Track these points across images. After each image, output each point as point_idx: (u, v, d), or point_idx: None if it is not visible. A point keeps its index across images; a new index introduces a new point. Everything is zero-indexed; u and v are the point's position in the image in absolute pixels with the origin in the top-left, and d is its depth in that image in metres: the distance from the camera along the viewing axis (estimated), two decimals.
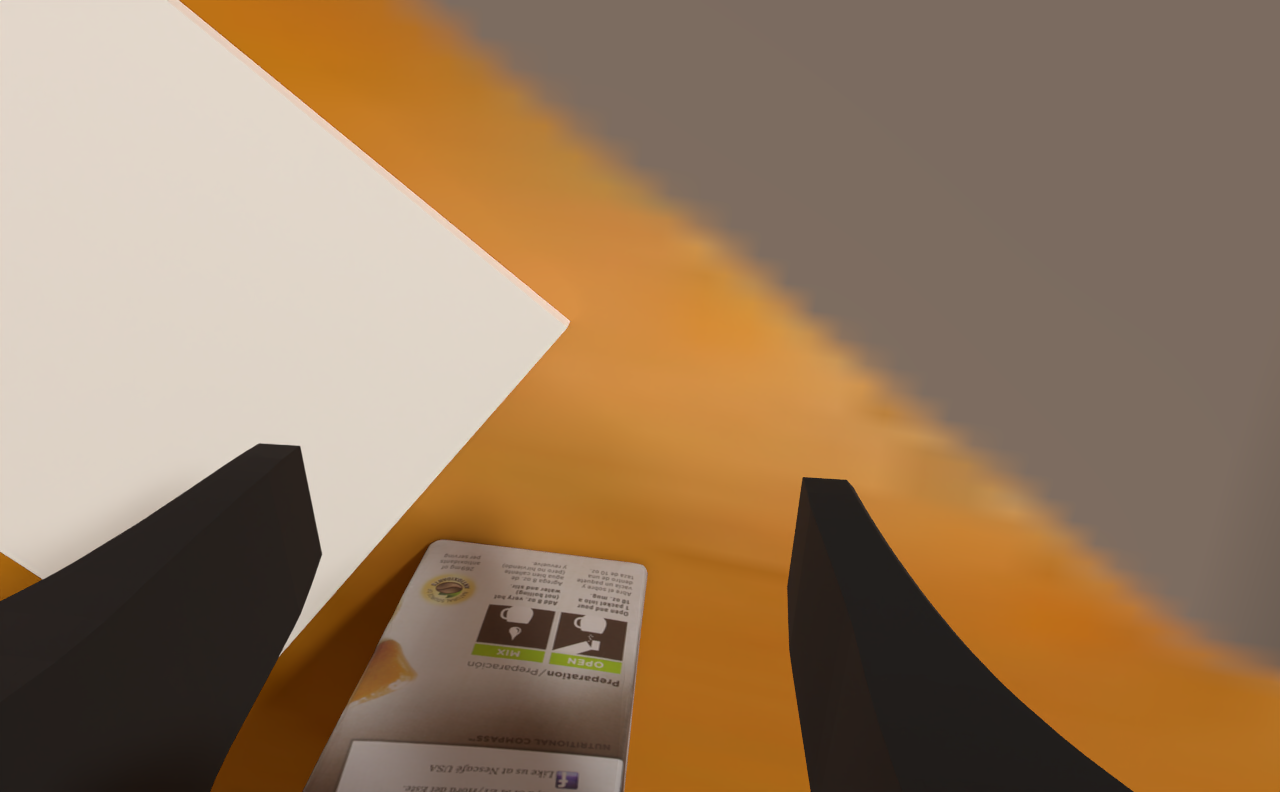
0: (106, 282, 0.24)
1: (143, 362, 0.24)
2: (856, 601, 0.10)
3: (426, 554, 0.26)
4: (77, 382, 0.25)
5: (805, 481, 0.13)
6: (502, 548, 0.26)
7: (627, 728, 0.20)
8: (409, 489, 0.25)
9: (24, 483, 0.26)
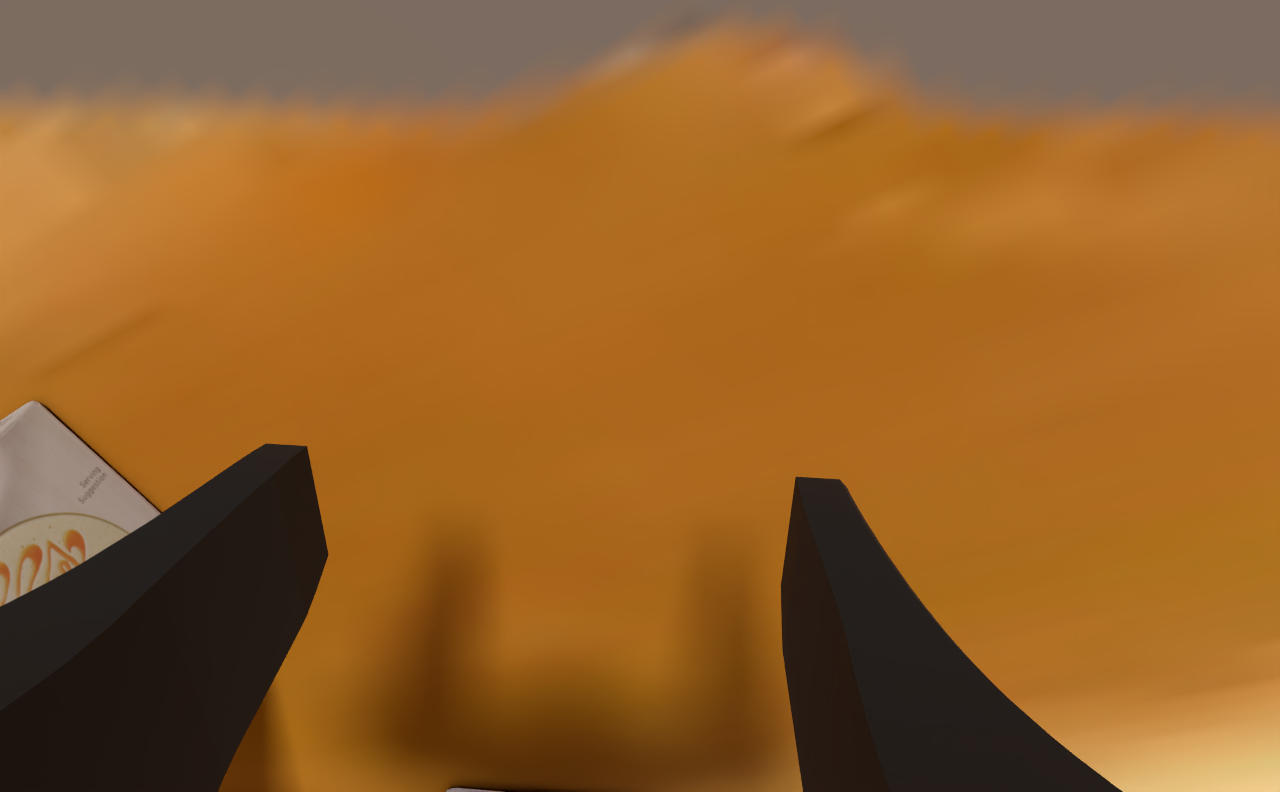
0: None
1: None
2: (847, 601, 0.10)
3: None
4: None
5: (798, 481, 0.13)
6: None
7: None
8: None
9: None
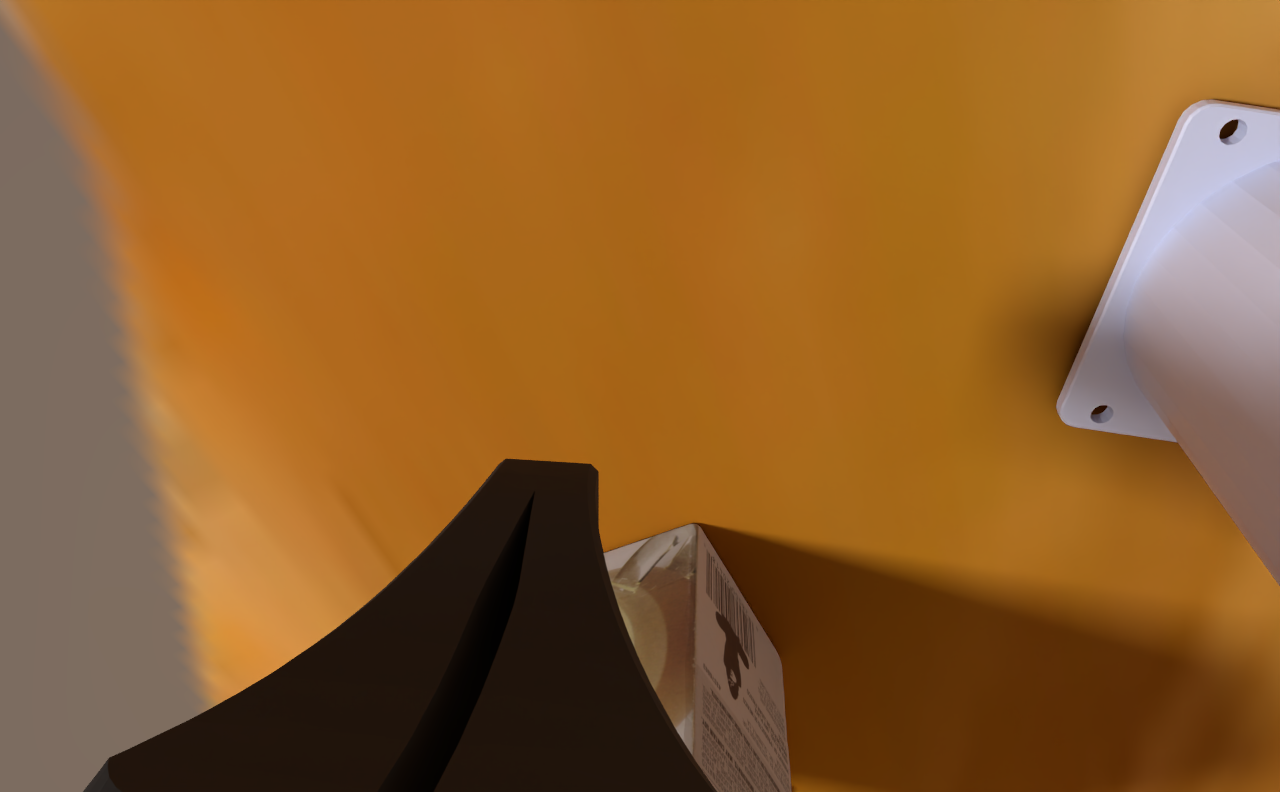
0: None
1: None
2: (531, 579, 0.10)
3: None
4: None
5: (546, 465, 0.13)
6: None
7: None
8: None
9: None
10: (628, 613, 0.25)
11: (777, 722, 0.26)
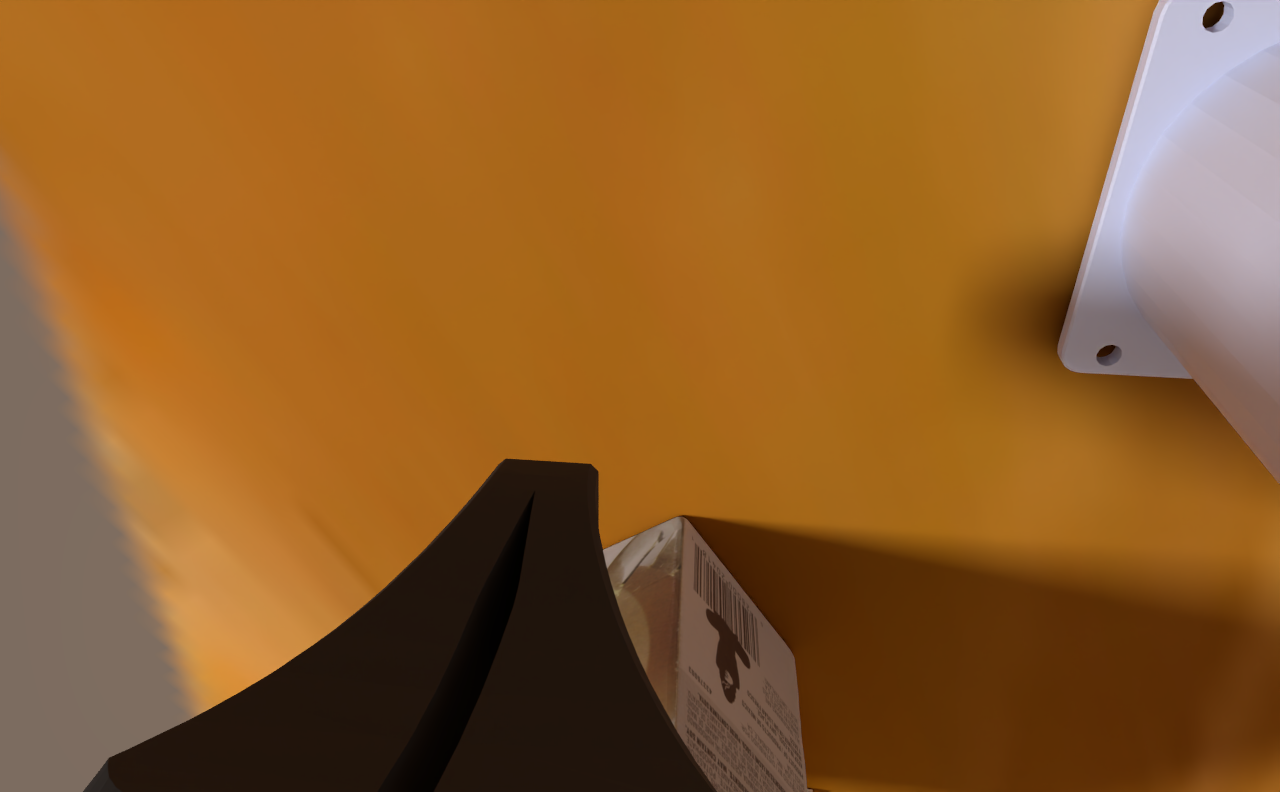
0: None
1: None
2: (531, 579, 0.10)
3: None
4: None
5: (546, 465, 0.13)
6: None
7: None
8: None
9: None
10: None
11: (788, 723, 0.24)
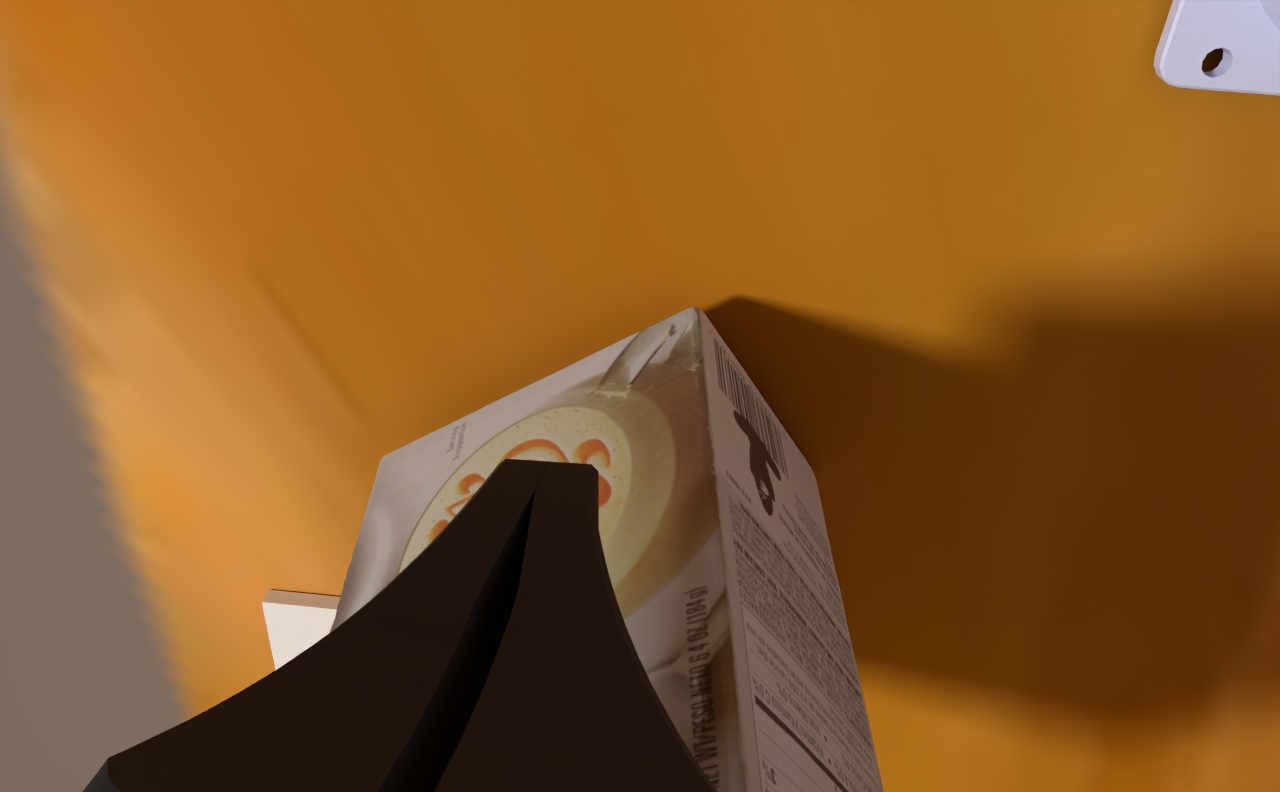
0: None
1: None
2: (532, 579, 0.10)
3: None
4: None
5: (546, 465, 0.13)
6: None
7: None
8: None
9: None
10: (620, 422, 0.19)
11: (821, 544, 0.21)
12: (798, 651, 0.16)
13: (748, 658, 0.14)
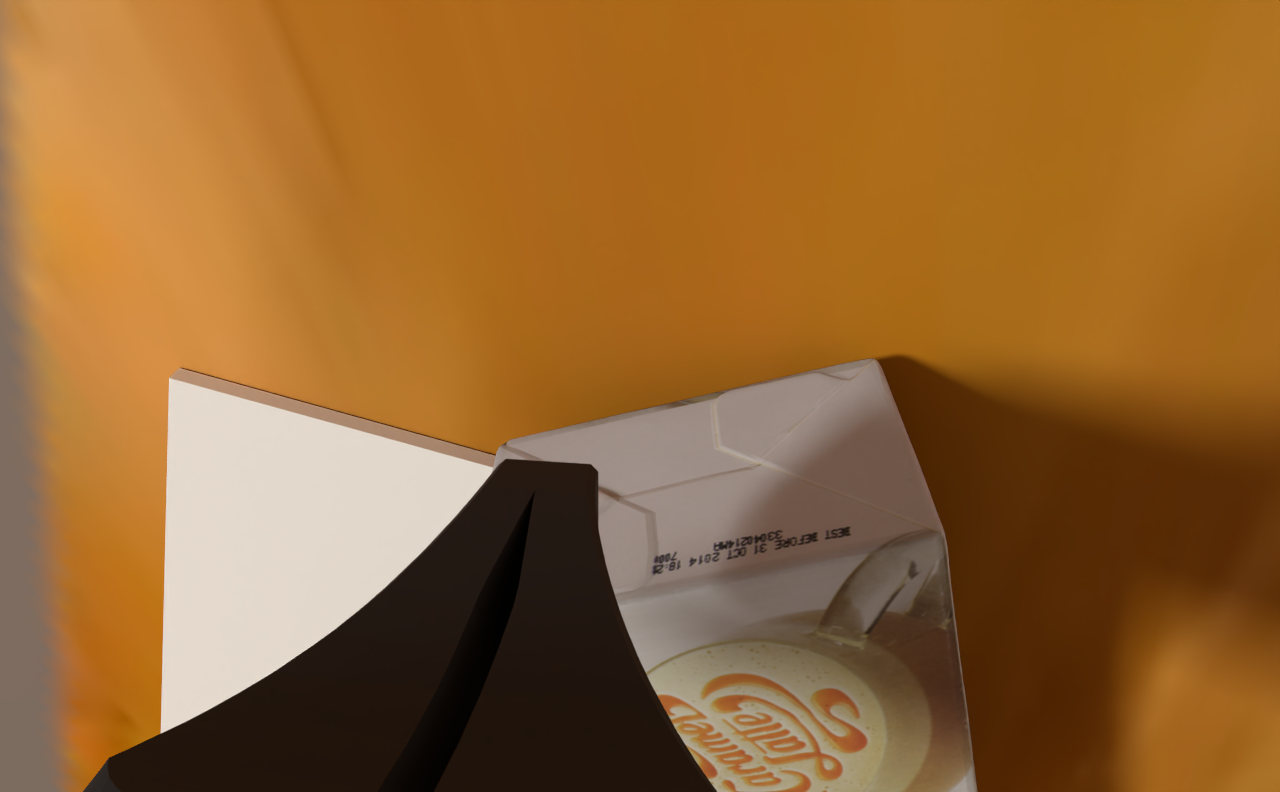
0: None
1: None
2: (531, 579, 0.10)
3: None
4: None
5: (546, 465, 0.13)
6: None
7: None
8: (422, 458, 0.24)
9: None
10: (861, 676, 0.18)
11: None
12: None
13: None
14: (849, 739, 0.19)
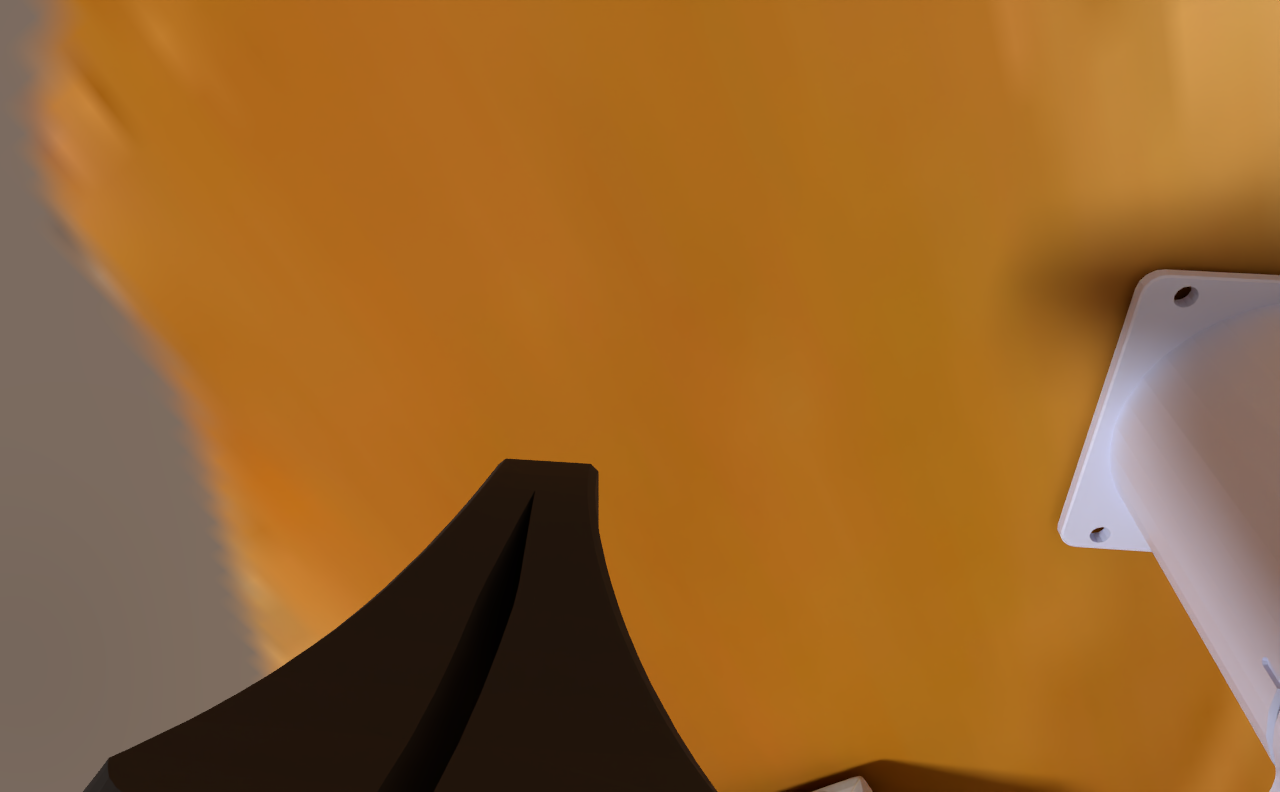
0: None
1: None
2: (531, 579, 0.10)
3: None
4: None
5: (546, 465, 0.13)
6: None
7: None
8: None
9: None
10: None
11: None
12: None
13: None
14: None
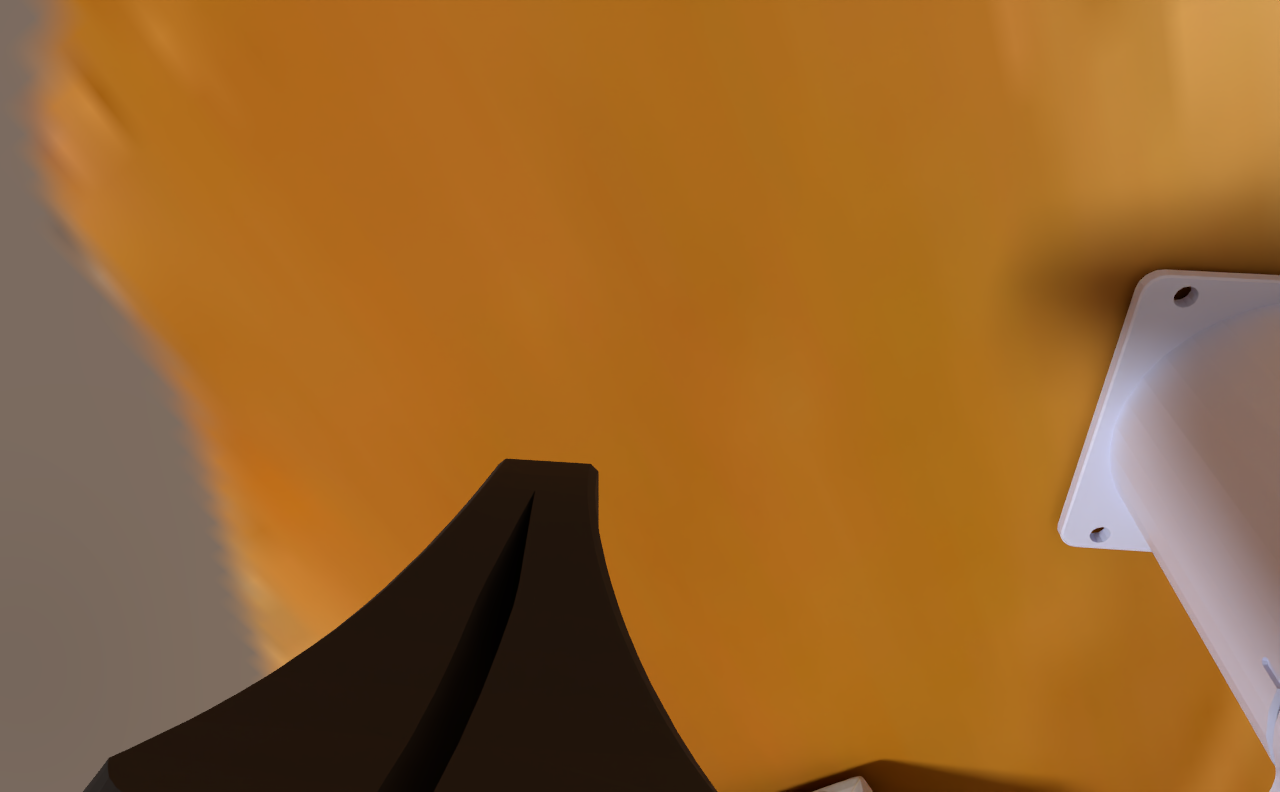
0: None
1: None
2: (531, 579, 0.10)
3: None
4: None
5: (546, 465, 0.13)
6: None
7: None
8: None
9: None
10: None
11: None
12: None
13: None
14: None
